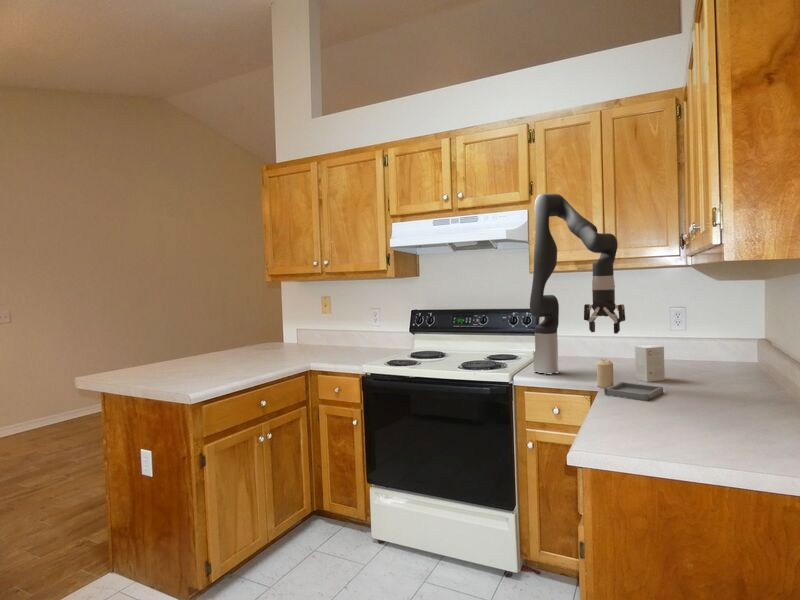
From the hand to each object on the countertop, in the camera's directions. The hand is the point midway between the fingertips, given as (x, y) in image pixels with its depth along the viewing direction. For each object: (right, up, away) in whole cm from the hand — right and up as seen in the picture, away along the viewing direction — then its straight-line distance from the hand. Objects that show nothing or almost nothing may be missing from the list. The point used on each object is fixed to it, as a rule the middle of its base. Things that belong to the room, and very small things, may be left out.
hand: (604, 332), depth 178 cm
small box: (+21, -19, +9) cm, 30 cm away
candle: (+1, -20, +1) cm, 20 cm away
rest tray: (+5, -20, -11) cm, 24 cm away
